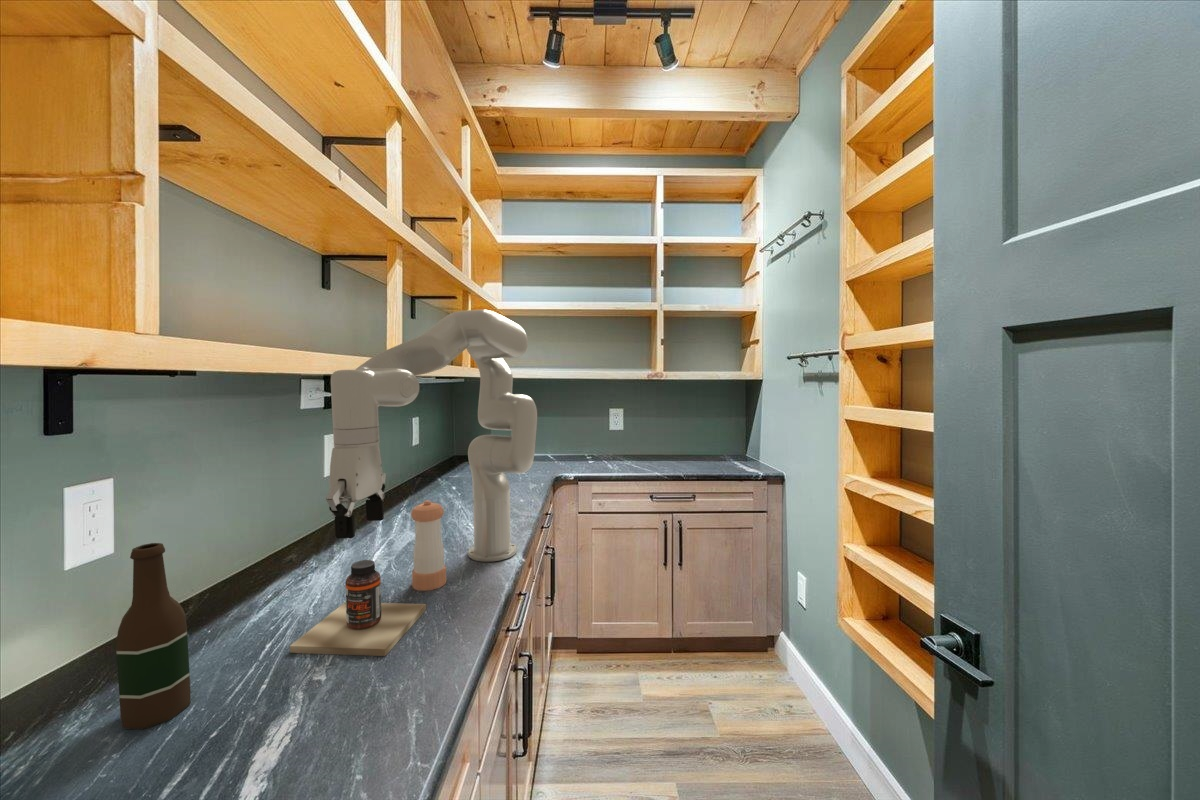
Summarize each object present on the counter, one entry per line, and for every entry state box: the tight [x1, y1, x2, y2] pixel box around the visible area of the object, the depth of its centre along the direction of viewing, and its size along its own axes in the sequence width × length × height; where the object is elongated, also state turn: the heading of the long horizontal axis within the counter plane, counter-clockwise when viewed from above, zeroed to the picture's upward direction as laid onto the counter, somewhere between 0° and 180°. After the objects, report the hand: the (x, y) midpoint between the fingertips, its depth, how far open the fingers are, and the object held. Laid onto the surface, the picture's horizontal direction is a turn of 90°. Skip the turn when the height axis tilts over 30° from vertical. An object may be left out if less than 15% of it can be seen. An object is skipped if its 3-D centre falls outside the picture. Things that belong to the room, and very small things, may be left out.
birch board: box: [289, 601, 427, 657], centre depth 90 cm, size 16×17×1 cm
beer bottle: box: [115, 542, 191, 730], centre depth 68 cm, size 8×8×24 cm
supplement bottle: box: [345, 559, 382, 629], centre depth 90 cm, size 6×6×11 cm
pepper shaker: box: [410, 499, 447, 592], centre depth 109 cm, size 7×7×19 cm
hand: (361, 528), depth 89 cm, fingers open, 9 cm apart
